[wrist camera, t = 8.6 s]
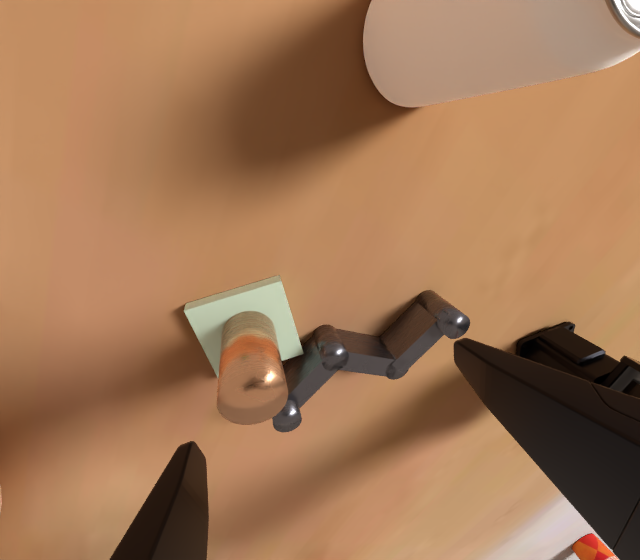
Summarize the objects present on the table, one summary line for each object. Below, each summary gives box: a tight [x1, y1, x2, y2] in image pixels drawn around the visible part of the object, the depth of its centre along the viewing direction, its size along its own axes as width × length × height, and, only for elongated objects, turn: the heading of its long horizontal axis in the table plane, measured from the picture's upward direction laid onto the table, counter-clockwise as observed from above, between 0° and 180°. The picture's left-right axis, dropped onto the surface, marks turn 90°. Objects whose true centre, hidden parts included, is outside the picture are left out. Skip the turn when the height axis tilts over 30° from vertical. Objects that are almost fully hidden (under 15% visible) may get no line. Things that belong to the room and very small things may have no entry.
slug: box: [217, 311, 288, 425], centre depth 18 cm, size 4×4×6 cm
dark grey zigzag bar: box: [272, 290, 470, 432], centre depth 23 cm, size 5×16×4 cm, turn 102°
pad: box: [184, 275, 304, 378], centre depth 21 cm, size 6×6×1 cm
